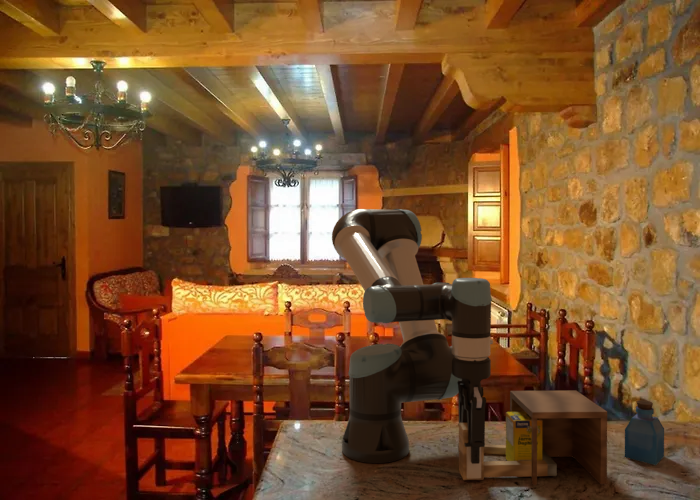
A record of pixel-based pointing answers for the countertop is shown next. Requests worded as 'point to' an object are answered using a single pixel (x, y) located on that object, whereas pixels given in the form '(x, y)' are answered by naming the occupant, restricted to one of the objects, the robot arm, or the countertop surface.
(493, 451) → the plain oak stick
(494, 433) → the countertop surface
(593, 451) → the walnut box
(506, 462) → the oak crook
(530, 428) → the supplement box
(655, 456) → the perfume bottle
